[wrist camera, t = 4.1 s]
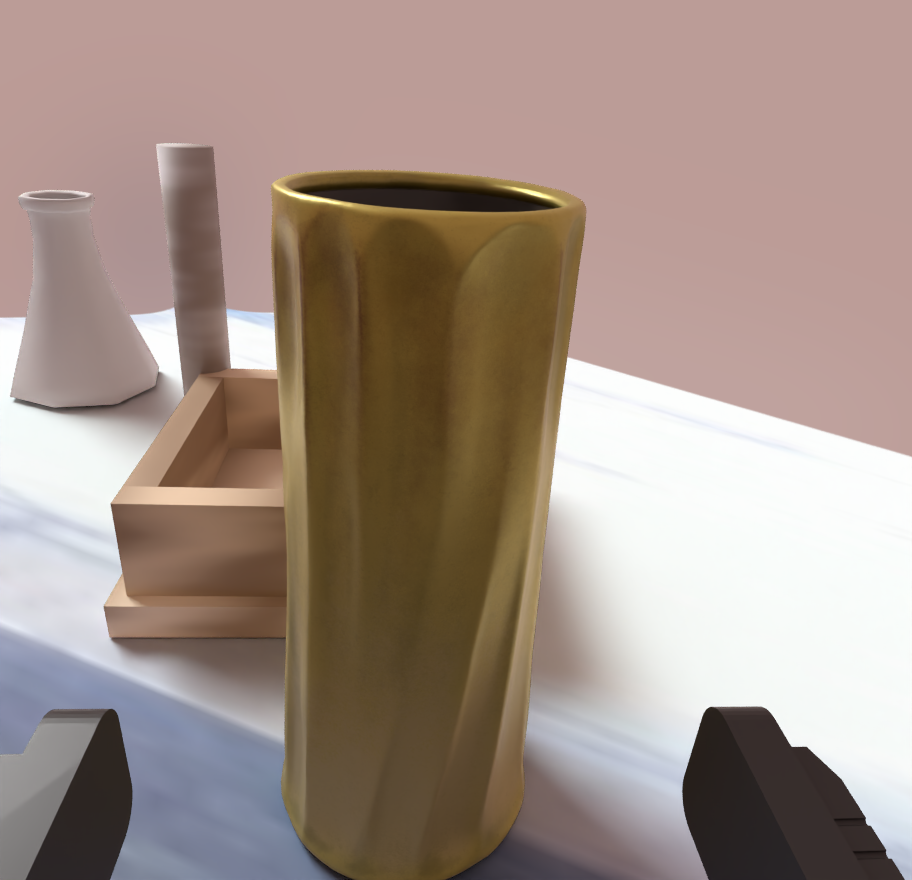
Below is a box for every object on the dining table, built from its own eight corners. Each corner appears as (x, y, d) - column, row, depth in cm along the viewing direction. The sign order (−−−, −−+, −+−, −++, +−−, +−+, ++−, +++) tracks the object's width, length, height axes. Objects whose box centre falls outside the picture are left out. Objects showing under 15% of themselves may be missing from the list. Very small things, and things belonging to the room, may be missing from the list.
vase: (228, 789, 18) (160, 175, 11) (391, 653, 22) (406, 161, 16) (423, 955, 15) (478, 238, 8) (566, 757, 19) (670, 198, 13)
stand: (92, 637, 22) (-1, 183, 16) (197, 447, 33) (165, 142, 28) (496, 637, 23) (545, 213, 17) (464, 454, 34) (487, 162, 29)
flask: (181, 367, 42) (161, 190, 38) (126, 418, 36) (95, 211, 31) (59, 358, 42) (25, 180, 38) (-18, 407, 36) (-69, 199, 31)
